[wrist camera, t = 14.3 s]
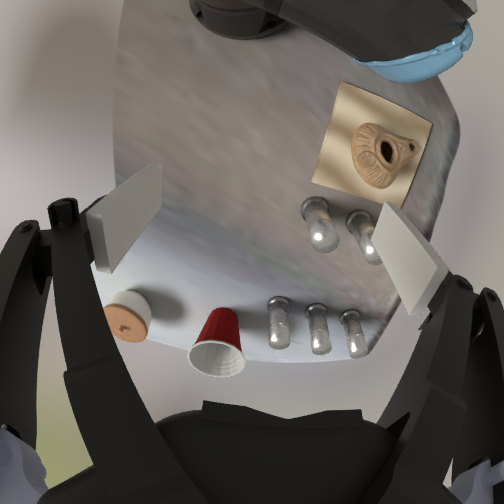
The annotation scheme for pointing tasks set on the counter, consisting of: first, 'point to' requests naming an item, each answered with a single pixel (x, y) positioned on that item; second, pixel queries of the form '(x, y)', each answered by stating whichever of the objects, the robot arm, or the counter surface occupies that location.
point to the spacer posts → (278, 306)
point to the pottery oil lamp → (380, 154)
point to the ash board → (340, 134)
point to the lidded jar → (128, 316)
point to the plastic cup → (218, 346)
